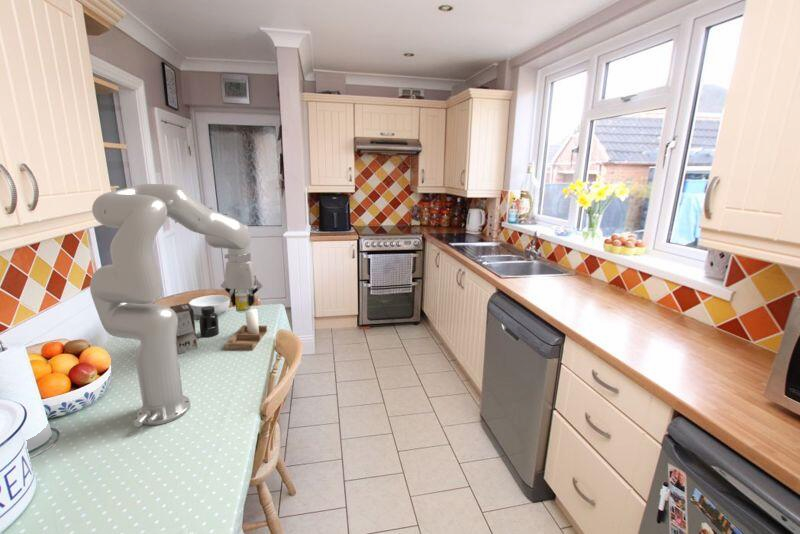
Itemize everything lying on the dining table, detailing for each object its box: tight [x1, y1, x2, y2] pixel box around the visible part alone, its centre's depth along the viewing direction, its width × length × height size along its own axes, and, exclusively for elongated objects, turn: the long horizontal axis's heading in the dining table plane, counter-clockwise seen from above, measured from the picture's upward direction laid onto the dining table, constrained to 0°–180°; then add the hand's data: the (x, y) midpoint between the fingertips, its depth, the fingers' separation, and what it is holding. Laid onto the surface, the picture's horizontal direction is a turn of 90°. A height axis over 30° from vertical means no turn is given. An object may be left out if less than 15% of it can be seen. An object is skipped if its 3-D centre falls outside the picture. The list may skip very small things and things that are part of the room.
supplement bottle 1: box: [198, 306, 220, 339], centre depth 152 cm, size 7×7×12 cm
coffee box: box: [169, 302, 198, 354], centre depth 140 cm, size 9×6×16 cm
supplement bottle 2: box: [235, 289, 252, 314], centre depth 140 cm, size 5×5×10 cm
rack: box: [224, 324, 268, 352], centre depth 149 cm, size 18×10×3 cm, turn 2°
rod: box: [245, 307, 260, 334], centre depth 151 cm, size 4×4×11 cm
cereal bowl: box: [188, 294, 231, 316], centre depth 174 cm, size 17×17×7 cm
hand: (243, 304), depth 141 cm, fingers closed on supplement bottle 2, 5 cm apart
